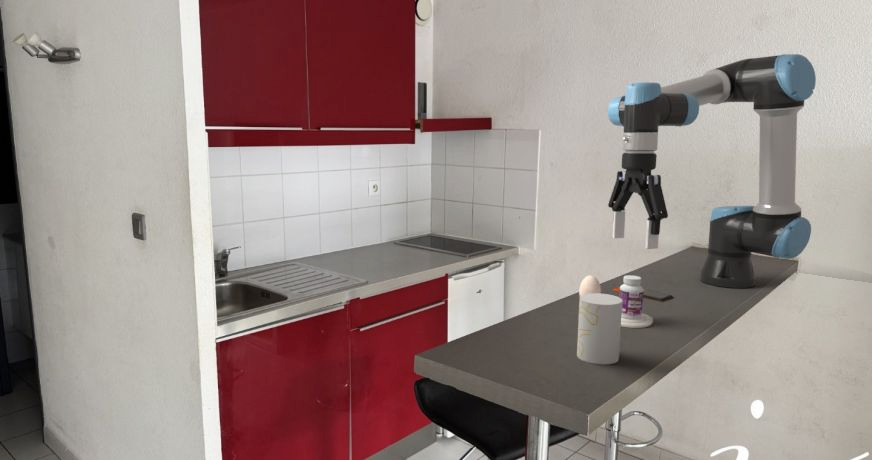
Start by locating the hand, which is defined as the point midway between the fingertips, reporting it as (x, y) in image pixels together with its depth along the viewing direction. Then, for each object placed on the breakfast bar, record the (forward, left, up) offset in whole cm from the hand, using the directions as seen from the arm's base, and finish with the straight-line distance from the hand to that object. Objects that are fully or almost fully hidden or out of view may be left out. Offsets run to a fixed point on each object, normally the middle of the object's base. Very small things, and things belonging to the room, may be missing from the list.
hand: (634, 243), depth 141 cm
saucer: (+1, +1, -19) cm, 19 cm away
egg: (+3, -13, -19) cm, 23 cm away
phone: (-16, -19, -20) cm, 32 cm away
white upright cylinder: (+20, +20, -19) cm, 34 cm away
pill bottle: (0, +1, -18) cm, 18 cm away
